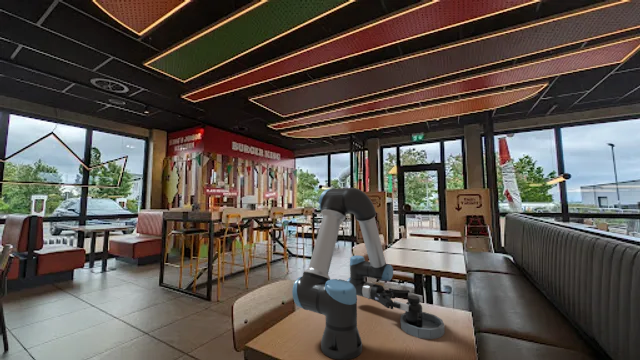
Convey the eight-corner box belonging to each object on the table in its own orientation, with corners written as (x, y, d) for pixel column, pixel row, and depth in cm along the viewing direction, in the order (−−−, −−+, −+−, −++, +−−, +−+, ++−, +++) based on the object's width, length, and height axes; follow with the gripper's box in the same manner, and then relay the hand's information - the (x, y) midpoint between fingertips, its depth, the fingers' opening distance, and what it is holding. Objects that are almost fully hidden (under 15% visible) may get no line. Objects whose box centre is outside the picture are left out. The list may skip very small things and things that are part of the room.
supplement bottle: (419, 322, 115) (419, 294, 115) (424, 330, 108) (424, 300, 109) (403, 321, 115) (403, 293, 116) (407, 329, 108) (407, 300, 109)
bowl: (417, 341, 101) (417, 332, 102) (393, 322, 118) (393, 314, 118) (453, 335, 106) (453, 326, 106) (425, 317, 122) (425, 309, 123)
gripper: (387, 293, 138) (427, 304, 123) (358, 307, 120) (402, 322, 105) (386, 278, 139) (427, 287, 124) (358, 290, 121) (401, 302, 106)
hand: (415, 303), depth 115 cm, fingers open, 13 cm apart
